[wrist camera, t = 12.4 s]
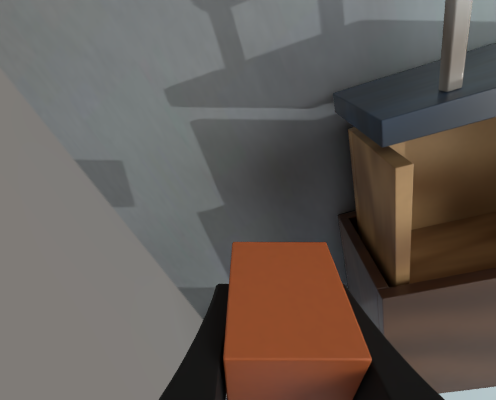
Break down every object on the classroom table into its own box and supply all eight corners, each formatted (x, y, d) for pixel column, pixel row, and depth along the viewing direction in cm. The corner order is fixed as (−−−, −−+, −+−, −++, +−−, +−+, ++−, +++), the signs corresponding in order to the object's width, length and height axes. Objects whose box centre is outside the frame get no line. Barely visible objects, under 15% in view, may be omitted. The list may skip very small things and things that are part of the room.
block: (326, 241, 11) (373, 359, 7) (313, 301, 14) (343, 420, 9) (232, 241, 11) (222, 359, 7) (234, 301, 14) (228, 420, 9)
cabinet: (337, 214, 21) (382, 299, 14) (519, 171, 19) (679, 245, 12) (351, 309, 28) (386, 400, 21) (488, 285, 26) (579, 376, 19)
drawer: (321, 1, 13) (376, -32, 8) (600, -102, 11) (952, -248, 6) (350, 240, 22) (386, 309, 16) (513, 204, 20) (620, 268, 14)
